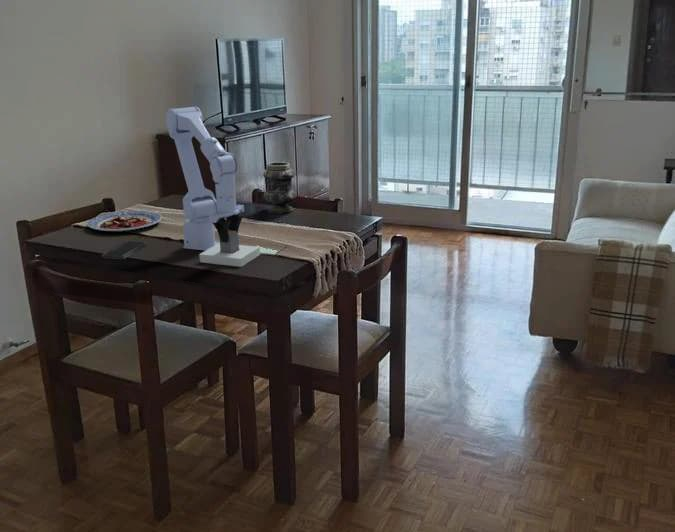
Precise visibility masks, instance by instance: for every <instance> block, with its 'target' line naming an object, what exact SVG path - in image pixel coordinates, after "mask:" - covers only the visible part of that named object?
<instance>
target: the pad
mask: <svg viewBox="0 0 675 532" xmlns="http://www.w3.org/2000/svg"><path fill="white" fill-rule="evenodd" d="M255 247H260V246H258V245H256V246H255ZM279 251H280V250H279ZM277 252H278V251H277V250H272V249H269V248H268V249H266V248H263V247H260V255H269V256H275V255H277V254H278V253H279V252H278V253H277ZM280 252H281V251H280ZM276 253H277V254H276Z"/></svg>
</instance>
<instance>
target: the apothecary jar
mask: <svg viewBox="0 0 675 532" xmlns="http://www.w3.org/2000/svg"><path fill="white" fill-rule="evenodd" d="M262 176H263V178H264V179H265V180H266V191H265V192H264V193H263V198H264V200H265V201H266V202H267V203H270V204H273V205H272V206H271V207H269V208H268V209H267V212H268V213H273V214H285V213H290V212H291V211H294V207H292V206H290V205H288V203H290V202H293V201H294V200H295V198H296V192H295V191H294V190H293V185H292V179H293V178H294V177H295V171H294V169H292V167H291V164H290V163H289V162H287V161H286V162H285V161H273V162H268V163H267V165H266V169H265V170H264V171H263V173H262Z"/></svg>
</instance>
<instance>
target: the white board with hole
mask: <svg viewBox="0 0 675 532" xmlns="http://www.w3.org/2000/svg"><path fill="white" fill-rule="evenodd" d="M260 255H261V254H260V247H256V246H255V245H244V244H239V250H238V251H237V252H235V253H233V254H231V253H222V252H220V243H219V244H217V245H215V246H213V247H212V248H210V249H208V250H203V252H201V253H199V262H200V263H205V264H214V265H222V266H223V265H224V266H229V267H232V266H233V267H238V268H242V267H243V266H245V265H247V264H248V263H249V262H251V261H253V260H254V259H256V258H257V257H258V256H259V257H260Z"/></svg>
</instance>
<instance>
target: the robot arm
mask: <svg viewBox="0 0 675 532" xmlns="http://www.w3.org/2000/svg"><path fill="white" fill-rule="evenodd" d="M203 118H204V117H203V113H202V110H201V109H200V108H199V107H198V106H190V107H180V108H168V109H167V111H166V114H165V124H166V128H167V131H168V134H169V137H170V138H171V139H173V140H174V143H175V147H176V151H177V154H178V158H179V161H180V165H181V169H182V173H183V175H184V180H185V183H186V187H187V190H188V192H186V194H185V195H184V196H183V198H182V205H183V208H182V209H183V214H184V216H185V218H186V220H185V221H184V223H183V225H182V232H183V243H184V246H182V247H183V249H187V250H199V251H206V250H208V249H210V248H212V247H213V246H215V245H217V244H219V243H220V240H221V242H225V243H227V242H228V230H232V231H236V232H238V233H239V228H240V225H241V222H242V220H243V218H244V214H243V212H245V205H244V204H237V197H236V196H237V194H236V180H235V178H236V177H235V174H236V173H237V172H238V169H239V167H238V166H239V164H238V161H237V157H236V156H235V155H234V153H230V152H229V151H228V152H227V151H226V150H225V149H224V147H223V146H222V145H221V143H220V142H219V141H218V139H217V138H216V137H211V135H210V133H209V131H208V130H207V128H206V126H205V124H204V123H203V121H204V119H203ZM193 137H194V138H195V139H196V140H197V141H198V142H199V144H200V151H201V153H202V154H203V155H204V157H205V158H206V159H207V161H208V162H209V169H210V172H211V174H212V180H213V182H214V183H215V194H214V192H213V191H212V190H210V189H207V188H206V187H205V185H204V181H203V178H202V175H201V170H200V167H199V163H198V159H197V156H196V152H195V149H194V145H193V141H192V139H193ZM215 229H216V231H217V234H218V237H220V238H219V241H216V233H215Z"/></svg>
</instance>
